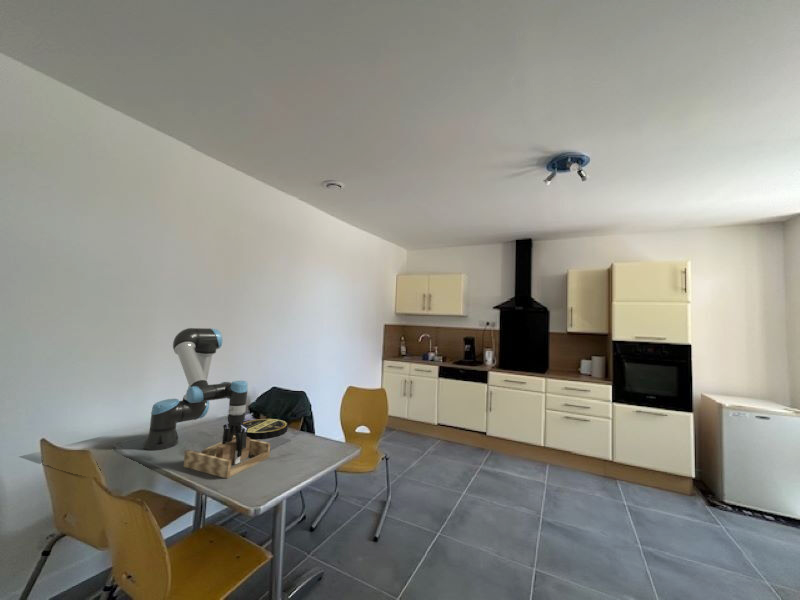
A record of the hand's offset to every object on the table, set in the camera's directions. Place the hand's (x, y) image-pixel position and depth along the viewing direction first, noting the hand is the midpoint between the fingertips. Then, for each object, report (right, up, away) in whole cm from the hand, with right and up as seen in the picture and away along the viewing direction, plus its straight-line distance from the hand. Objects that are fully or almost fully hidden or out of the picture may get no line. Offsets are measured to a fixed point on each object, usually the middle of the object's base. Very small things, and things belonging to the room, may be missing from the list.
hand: (232, 462), depth 154 cm
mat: (+9, -3, +25) cm, 27 cm away
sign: (-6, -5, +46) cm, 47 cm away
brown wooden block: (0, 0, 0) cm, 0 cm away
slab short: (-11, +2, +5) cm, 12 cm away
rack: (-2, 0, +1) cm, 2 cm away
